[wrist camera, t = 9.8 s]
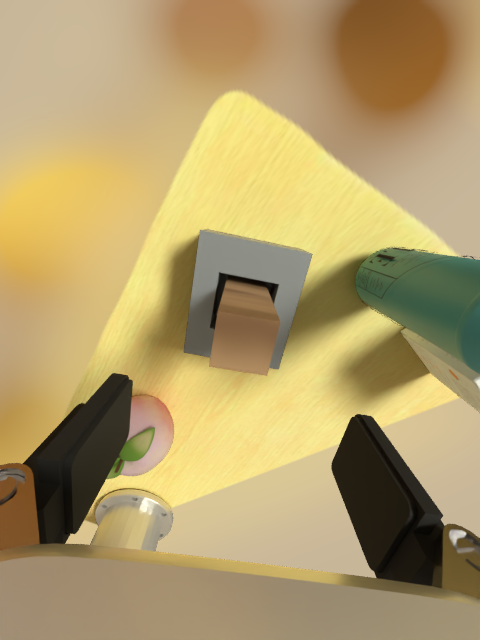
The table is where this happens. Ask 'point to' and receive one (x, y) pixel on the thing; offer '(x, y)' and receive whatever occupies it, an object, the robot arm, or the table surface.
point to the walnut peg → (245, 327)
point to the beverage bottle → (427, 297)
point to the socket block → (247, 262)
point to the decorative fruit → (145, 437)
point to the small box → (447, 369)
